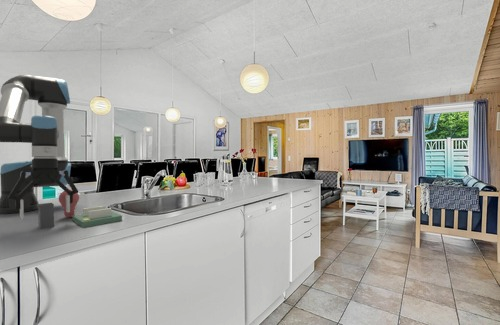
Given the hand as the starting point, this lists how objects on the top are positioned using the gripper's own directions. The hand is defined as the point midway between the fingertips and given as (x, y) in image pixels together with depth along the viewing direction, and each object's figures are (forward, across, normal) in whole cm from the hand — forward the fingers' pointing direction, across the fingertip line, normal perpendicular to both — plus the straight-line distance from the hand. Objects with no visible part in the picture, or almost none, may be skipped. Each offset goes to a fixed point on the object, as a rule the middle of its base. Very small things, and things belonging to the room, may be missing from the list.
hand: (46, 214), depth 96 cm
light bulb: (+4, +9, +10) cm, 15 cm away
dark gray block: (+4, 0, 0) cm, 5 cm away
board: (+4, +16, -4) cm, 17 cm away
